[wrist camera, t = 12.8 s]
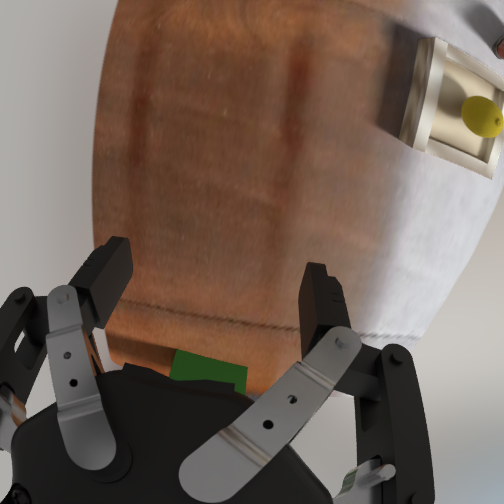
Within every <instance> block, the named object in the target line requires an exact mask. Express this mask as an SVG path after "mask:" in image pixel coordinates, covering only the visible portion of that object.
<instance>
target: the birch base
mask: <svg viewBox="0 0 504 504" xmlns="http://www.w3.org/2000/svg"><path fill="white" fill-rule="evenodd" d="M471 96H483V97H485V98H488V99H490V100H491V101H493V102H494V103H495V104H496V105H497V106H498V107H499V108H500V110H501V112H502V114H503V118H504V78H503V77H501V76H500V75H499V74H497V73H496V72H494V71H493V70H491V69H490V68H488V67H487V66H485V65H484V64H482V63H481V62H479V61H477V60H476V59H474V58H473V57H471V56H469V55H468V54H466V53H464V52H462V51H461V50H459V49H457V48H455V47H453V46H452V45H450V44H448V43H446V42H444V41H442V40H440V39H438V38H436V37H433V38H424V39H419V41H418V48H417V54H416V60H415V66H414V71H413V77H412V82H411V87H410V92H409V96H408V101H407V105H406V110H405V114H404V118H403V122H402V126H401V130H400V134H399V138H398V139H399V140H401V141H402V142H404V143H405V144H407V145H408V146H410V147H411V148H414V149H417V150H419V151H422V152H425V153H428V154H431V155H434V156H436V157H439V158H442V159H444V160H447V161H450V162H452V163H455V164H457V165H460V166H462V167H464V168H467V169H469V170H472V171H474V172H476V173H478V174H481V175H483V176H485V177H487V178H489V179H492V177H493V174H494V171H495V168H496V165H497V162H498V159H499V155H500V152H501V149H502V145H503V142H504V126H503V129H502V131H501V133H500V134H499V135H498V136H496V137H493V138H484V137H480V136H478V135H476V134H474V133H473V132H471V131H470V130H469V129H468V128H467V126H466V125H465V124H464V121H463V119H462V116H461V108H462V105H463V103H464V101H465V100H466V99H467V98H469V97H471Z"/></svg>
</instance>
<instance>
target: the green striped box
mask: <svg viewBox="0 0 504 504" xmlns="http://www.w3.org/2000/svg"><path fill="white" fill-rule="evenodd" d="M247 370H248V367H245V366H240V365H236V364H232V363H228V362H224V361H220V360H216V359H212V358H208V357H204V356H200V355H197V354H193V353H190V352H186V351H183V350H179V349H177V350H176V354H175V357H174V361H173V364H172V368H171V371H170V375H169V378H171V379H174V380H177V381H182V380H203V379H208V380H215V381H222V382H229V383H235V390H234V391H236V392H239V393H241V394H243V395H245V390H246V380H247Z"/></svg>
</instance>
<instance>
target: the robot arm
mask: <svg viewBox="0 0 504 504" xmlns="http://www.w3.org/2000/svg"><path fill="white" fill-rule="evenodd" d="M132 273H133V262H132V255H131V249H130V242H129V239H128V238H124V237H116V236H112V237H111V238H110V239H109V240H108V242H107V243H106V244H105V245H104V246H103V245H101V246H100V247H98V248H97V249H95V250H94V251H93V252H92V253H91V254H90V256H89V257H88V259H87V260H86V261H85V262H84V263H83V266H81V267H80V269H79V270H78V271H77V273H76V274H75V275H74V277H73V278H72V279H71V281H70V282H69V284H68V285H61V286H58V287H56V288H54V289H53V290H52V291H51V292H50V293H49V295H48V296H36V297H35V296H34V294H33V292H32V290H31V289H30V288H28V287H20V288H18V289H16V290H14V291H13V292H12V293H11V294H10V295H9V297H8V298H7V300H6V301H5V302H4V304H3V305H2V307H1V308H0V450H2V451H3V450H5V451H7V452H9V453H11V458H12V468H13V478H12V486H11V489H10V491H9V492H8V494H7V495H6V497H5V498H4V499H3V501H2V502H1V503H0V504H434V501H435V490H434V478H433V467H432V459H431V450H430V443H429V437H428V430H427V424H426V418H425V413H424V407H423V402H422V397H421V393H420V388H419V383H418V379H417V375H416V370H415V366H414V363H413V358H412V356H411V354H410V352H409V351H408V350H407V349H406V348H405V347H403V346H401V345H398V344H388V345H386V346H385V347H384V348H383V349H382V350H380V349H377V348H374V347H371V346H368V345H365V344H363V343H362V342H361V339H360V337H359V335H358V334H357V333H356V332H355V331H353V330H352V329H351V325H350V320H349V316H348V311H347V307H346V303H345V298H344V296H343V290H342V286H341V284H340V283H339V282H338V280H337V279H336V278H335V277H332V276H328V275H327V270H326V266H325V264H320V263H313V262H308V263H307V265H306V269H305V272H304V276H303V279H302V283H301V286H300V290H299V298H298V304H299V319H300V335H301V353H302V361H301V362H298V361H297V362H296V363H294V364H293V365H292V366H291V367H290V368H289V369H288V370H287V371H286V372H285V373H284V374H283V375H282V376H281V377H280V378H279V379H278V380H277V381H276V382H275V383H274V384H273V385H272V386H271V387H270V388H269V389H268V390H267V391H266V392H265V393H264V394H263V395H262V396H261V397H260V398H259V399H258V400H257V401H256V402H254V401H253V400H252V399H250V398H249V397H247V396H245V395H243V394H241V393H239V392H236V391H234V390H235V383H229V382H222V381H215V380H208V379H203V380H182V381H177V380H174V379H171V378H169V377H167V376H165V375H163V374H161V373H158V372H156V371H154V370H152V369H150V368H146V367H141V366H137V365H133V364H129V363H125V364H124V366H123V369H122V370H114V371H109V372H105V371H104V369H103V366H102V363H101V360H100V356H99V353H98V350H97V346H96V343H95V339H94V336H93V333H92V331H93V329H94V327H97V328H101V329H104V328H105V326H106V324H107V322H108V320H109V318H110V316H111V314H112V312H113V310H114V308H115V306H116V304H117V303H118V301H119V299H120V297H121V295H122V293H123V292H124V290H125V288H126V286H127V284H128V282H129V281H130V279H131V277H132ZM22 331H23V333H24V334H25V336H24V338H23V339H22V341H21V343H20V345H19V347H18V349H17V351H16V353H15V350H14V346H15V343H16V341H17V339H18V337H19V335H20V334H21V332H22ZM47 353H48V359H49V365H50V371H51V377H52V382H53V387H54V392H55V397H56V402H55V403H53V404H51V405H50V406H48V407H47V408H45V409H43V410H42V411H40V412H38V413H37V414H35V415H34V416H32V417H30V418H29V419H27V418H26V408H25V404H26V402H27V399H28V397H29V394H30V392H31V389H32V387H33V384H34V382H35V380H36V377H37V375H38V373H39V370H40V368H41V366H42V364H43V362H44V360H45V357H46V355H47ZM333 390H336V391H340V392H343V393H346V394H349V395H352V396H354V404H355V420H356V439H357V440H356V441H357V467H356V468H354V469H352V470H351V471H349V472H348V473H347V475H346V476H345V478H344V480H343V485H342V489H341V491H340V493H339V494H338V495H337V496H336V497H335V498H333V499H332V497H331V495H330V493H329V491H328V490H327V489H326V487H325V486H324V485H323V484H322V483H321V481H320V480H319V479H318V478H317V477H316V476H315V475H314V473H313V472H312V471H311V470H310V469H309V467H308V466H307V465H306V464H305V463H304V462H303V460H302V459H301V458H300V456H299V455H298V454H297V453H296V452H295V450H294V449H293V448H292V447H291V446H290V443H291V442H292V440H294V439H295V438H296V436H297V435H298V434H299V433H300V432H301V431H302V429H303V428H304V427H305V426H306V425H307V423H308V422H309V421H310V419H311V418H312V417H313V416H314V415H315V413H316V412H317V411H318V410H319V408H320V407H321V406H322V405H323V403H324V402H325V401H326V400H327V398H328V397H329V396H330V394H331V393H332V392H333Z"/></svg>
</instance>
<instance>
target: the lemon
mask: <svg viewBox="0 0 504 504" xmlns="http://www.w3.org/2000/svg"><path fill="white" fill-rule="evenodd" d="M461 116H462V119H463V121H464V124H465V125H466V126H467V128H468V129H469V130H470V131H471V132H473V133H474V134H476V135H478V136H480V137H484V138H493V137H496V136H498V135H499V134H500V133H501V131H502V129H503V126H504V118H503V114H502V112H501V110H500V108H499V107H498V106H497V105H496V104H495V103H494V102H493V101H491V100H490V99H488V98H485V97H483V96H471V97H469V98H467V99H466V100H465V101H464V103H463V105H462V108H461Z"/></svg>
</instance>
